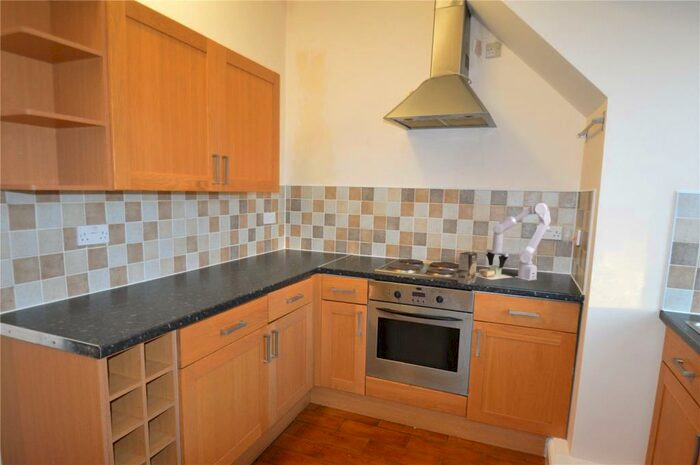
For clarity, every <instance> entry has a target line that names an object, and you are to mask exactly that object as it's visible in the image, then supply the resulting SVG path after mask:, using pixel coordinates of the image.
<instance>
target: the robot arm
mask: <svg viewBox="0 0 700 465" xmlns="http://www.w3.org/2000/svg"><path fill="white" fill-rule="evenodd" d="M529 215H537V216H538V218H539V220H540V223H539V224H538V226H537V228H536V230H535V231H534V232H533V234H532V237H531V239H530V241H529V243H528V244H527V246H526V248H525V249H524V250H523V252H522V253H520V255H519V257H518V259H519V261H518V270H517V271H518V272H517V275H515V276H514V278H516V279H517V278H518V279H521V280H523V281H524V280H525V281H536V280H537V275H538V266H536V265H535V264H533V263H534V262H533V261H532V260H533V259H534V253H535V251H536V249H537V247H538V246H539V245H540V243H541V240H542V238H543V236H544V235H545V233H546V231H547V229H548V227H549V226H550V225H551V221H552V220H551V211H550V208H549V206H548V205H547V204H546V203H544V202H540V203H537V204H536V205H535V204H534V205H533V206H530V207H527V208H526V209H524V210H522V211H521V212H520V213H518V214H516V215H515V216H507V217H506V218H505V219H503V220H502V221H499V222H498V223H496V224H494V226H493V228H492V230H493V237H492V248H491V249H489V248H487V249H486V251H485V253H486V254H485V256H486V257H487V261H488V266H489V267H490V266H494V265H493V264H494V258H495V255H497V256H498V261H499V262H498V263H499V264H498V266H499V268H502V269H503V268H504V266H505V265H504V264H505V263H506V261H507V259H508V258H509V253H508V252H505V251H503V247H504V232H505V231H508V230H509V229H511V228H513V227H514V226H516V225H517V223H518V221H520V220H522V219H524V218H526V217H527V216H529Z"/></svg>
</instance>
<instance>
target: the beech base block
mask: <svg viewBox="0 0 700 465" xmlns="http://www.w3.org/2000/svg"><path fill="white" fill-rule="evenodd" d="M478 273H479V276H482V277H485V278H484V279H486V278H491V277H494V274H495V271H492V270H490V269H488V268H484V269H482V268H481V269H479V270H478ZM482 277H481V278H482Z"/></svg>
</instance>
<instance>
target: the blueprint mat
mask: <svg viewBox="0 0 700 465" xmlns="http://www.w3.org/2000/svg"><path fill="white" fill-rule="evenodd" d="M476 277H479V278H482V279H486V280H490V281H492V280H500V279H508V278H512V276H510V275H507V274H502V273H501V274H499V275H494V277H491V278H485V277H482V276H479V272H476Z"/></svg>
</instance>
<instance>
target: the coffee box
mask: <svg viewBox="0 0 700 465" xmlns="http://www.w3.org/2000/svg"><path fill="white" fill-rule="evenodd" d="M477 260H478V253H477V252H471V251H465V252H460V253H459V260H458V274H457V283H458V284H464V285H467V286H468V285H471V284H473V283H474V282H476V277H477V276H476V273H477Z"/></svg>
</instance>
